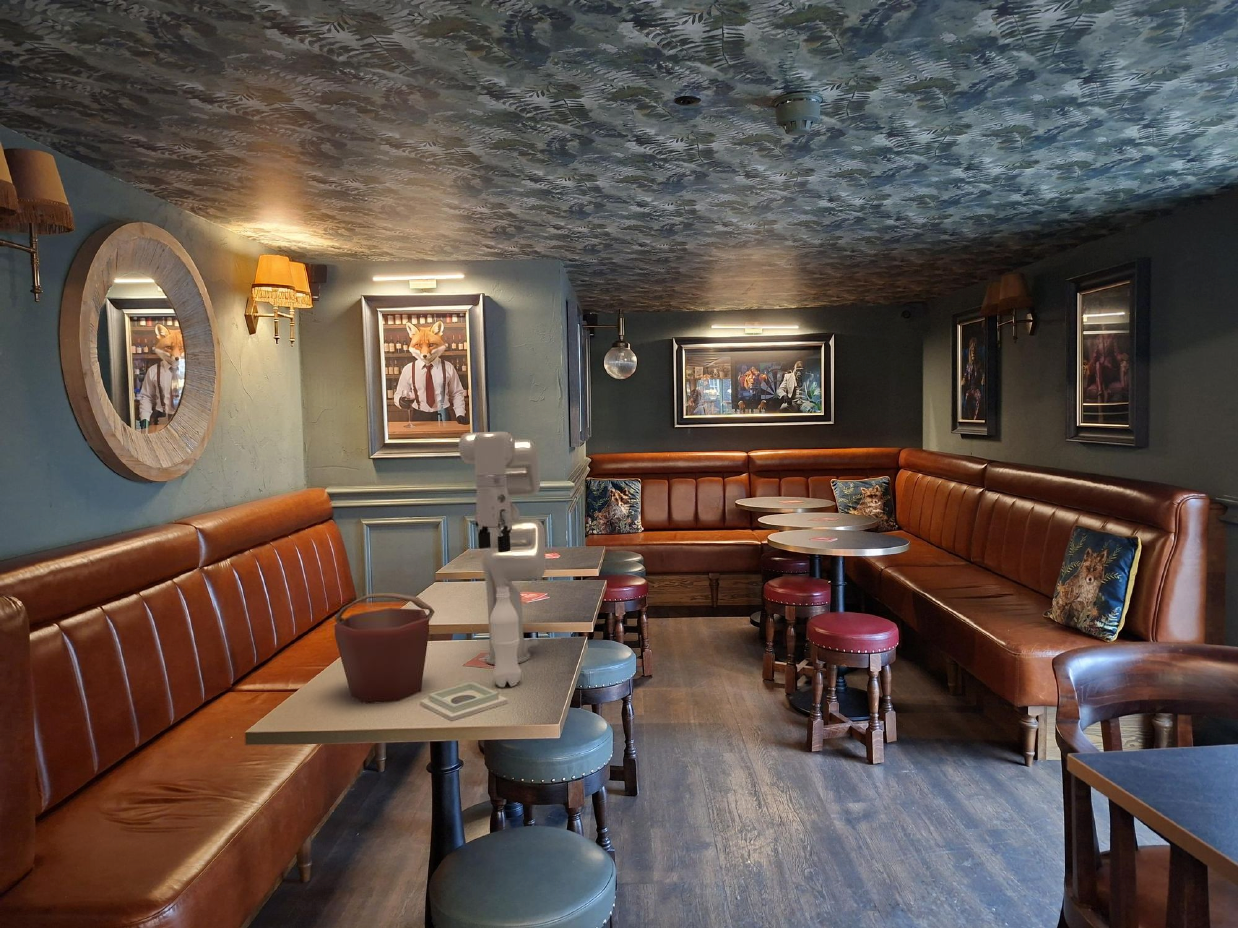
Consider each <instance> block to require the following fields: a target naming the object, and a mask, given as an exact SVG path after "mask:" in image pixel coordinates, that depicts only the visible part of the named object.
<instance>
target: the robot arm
mask: <svg viewBox="0 0 1238 928" xmlns="http://www.w3.org/2000/svg"><path fill="white" fill-rule="evenodd" d="M458 451H459V456H460V458H461V460H462V461H463V462H464V463H466V464H469V465H474V466H475V468H474V472H475V489H476V499H475V500H476V505H475V506H476V508H475V509H476V511H475V513H474V515H473V518H474V521H475V527H476V532H477V537H478V538H477V539H478V540H477V541H478V542H477V543H478V549H480V550H481V549H486V548H487V549H488V548H491V549H489V550H487V551H485V552H484V554H483V556H482V561H481V562H482V563H481V565H482V566H481V567H482V571H483V577H484V581H485V586H486V598H487V599H486V601H487V614H488V616H487V619H488V620H487V621H488V638H489V652H488V653H486V654H485V655H484V661H485V663H487V664H489V665H492V664H493V665H494V666H495V652H494V648H493V646H492V644H491V623H490V617H491V614H492V611H493V609H494V607H495V605H496V602H497V597H496V595H497V587H499V586H508V587H509V594H510V597H509V598H510V602H511V604H512V605H513V607H514V609H515V611H516V612H517V615H518V630H519V640H520V641H519V644H518V648H517V662H518V664H521V663H523V662H526V661H527V660H529V659H530V658H531V653H530V651H528V650H530V648H534V647H538V646H539V641H538V639H537V638H536V639H531V640H529V639H524V621H523V620H524V619H523V604H522V603H523V601H522V600H523V598H522V594H521V592H520V591H519V590H518V589H519V588H517V587H516V586H515V585H514V584H513V583H512V582H518V581H519V582H520V581H535V580H540V579H542V578H543V577H544V575H545V573H546V563H547V562H546V532H545V527H544V525H543V523H542V522H541V520H539V519H535V518H522V519H520V511H519V509H518V508H517V507H516V505H515V504H514V503H513V502H512V501H511V500H510V497H522V496H523V497H526V496H527V497H528V496H534V495H536V494H537V493H539V491H540V488H541V476H540V467H539V466H540V465H539V457H538V451H537V447H536V445H535V443H534V442H533V441H532V440H530V439H528V438H527V439H524V438H523V439H515V438H514V437H513V436H512V434H510V433H509V432H507V431H485V432H484V431H483V432H479V431H478V432H477V431H476V432H466V433H465V432H464V433H463V434H462V435H461V437H460V439H459V441H458Z"/></svg>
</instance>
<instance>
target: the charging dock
mask: <svg viewBox="0 0 1238 928" xmlns="http://www.w3.org/2000/svg"><path fill="white" fill-rule="evenodd" d="M427 697H428V698H425V699H421V700H419V704H420V706H422V707H424V708H425V709H427V710H429V711H432V712H434V713H436V714H437V715H440V716H441V717H443V718H445V719H447V720H449V721H451V722H453V721H456V720H459V719H463V718H466V717H469V716H471V715H475V714H478V712H479V713H481V711H482V712H484V711H483V710H485V711H487V709H488V710H491V709H494V708H496V706H497V707H500V706H502V705H503V704H504V705H506V704H509V699H508V698H506V697H504V696H502V695H500V694H499V692H498V691H495V690H493V689H490V688H487V687H485V686H483V685H482V684H478V683H476V682H474V681H470V682H466V683H463V684H460V685H455V686H452V687H448V688H445V689H441V690H438V691H435V692H431V693H428V695H427ZM504 705H503V706H504ZM493 707H494V708H493ZM490 708H491V709H490Z"/></svg>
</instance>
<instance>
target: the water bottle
mask: <svg viewBox="0 0 1238 928" xmlns="http://www.w3.org/2000/svg"><path fill="white" fill-rule="evenodd" d="M496 597H497V602H496V605H495V607H494V609H493V611H492V614H491V617H490V623H491V644H492V646H493V648H494V652H495V665H494V668H493V671H492V679H493V682H494V683H495V684H496V685H497V687H500V688H505V687H506V684H507V683H508V684H509V686H510V688H511V687H515V686H516V685H517V684H518V683H519V681H520V679H521V677H522V670H521V668H520V666H519V663H518V662H517V648H518V644H519V641H520V640H519V630H518V615H517V612H516V611H515V609H514V607H513V605H512V604H511V602H510V598H509V597H510V594H509V587H508V586H499V587H497V595H496Z"/></svg>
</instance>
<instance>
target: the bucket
mask: <svg viewBox="0 0 1238 928" xmlns="http://www.w3.org/2000/svg"><path fill="white" fill-rule="evenodd" d="M377 598H390V599H397V600H402V601H407V602H411V603H413V605H415V606H416V607H417V608H420V609H415V608H414V609H413V608H397V607H396V608H394V607H393V608H392V607H390V608H384V609H379V610H372V611H366V612H360V613H354V614H350V615H349V616H347V617H346V618H344V617H343V615H344V613H346V612H347V610H348V609H349V608H351V607H352V606H355V605H356V604H359V603H360V602H363V601H365V600H367V599H377ZM425 610H428V614H427V613H426V611H425ZM435 612H436V611H435V610H434V609H433V608H432V606H430V605H429V604H428V603H426V602H424V600H422V599H420V597H419V596H414V595H409V594H402V593H394V592H378V593H369V594H367V595H364V596H362V597H360V598H358V599H355V600H354V601H352V602H350V603H348V604H347V605H345V606H344V607H342V608H341V609H340V610H339V611H338V612H337V614H336V615H335V616H334V622H335V623H336V624H334V639H335V642H336V645H337V649H338V653H339V657H340V659H341V663H342V667H343V671H344V674H345V679H346V682H347V686H348V688H349V692H350V696H351V698H353V697H354V698H353V699H356V700H357V699H358V700H357V701H360V702H362V703H364V702H365V703H364V704H367V703H369V704H376V703H375V702H381V703H390V702H399V701H400V702H401V700H404V699H406V697H407V698H409V697H411V696H414V695H416V694H417V693H420V692H421V691H422V686H423V679H424V671H425V664H426V657H427V656H426V655H427V650H428V642H429V635H430V621H431V619H432V618H433V616H434V614H435Z"/></svg>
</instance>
